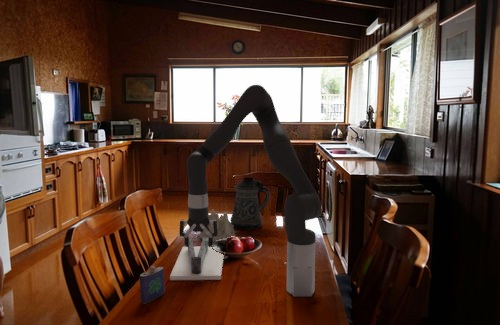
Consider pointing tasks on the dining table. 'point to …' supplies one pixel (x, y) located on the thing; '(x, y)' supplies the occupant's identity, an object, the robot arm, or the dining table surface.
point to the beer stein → (248, 204)
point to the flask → (152, 284)
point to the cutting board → (209, 269)
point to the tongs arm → (191, 248)
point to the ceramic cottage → (219, 227)
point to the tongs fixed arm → (199, 257)
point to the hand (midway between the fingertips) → (198, 246)
